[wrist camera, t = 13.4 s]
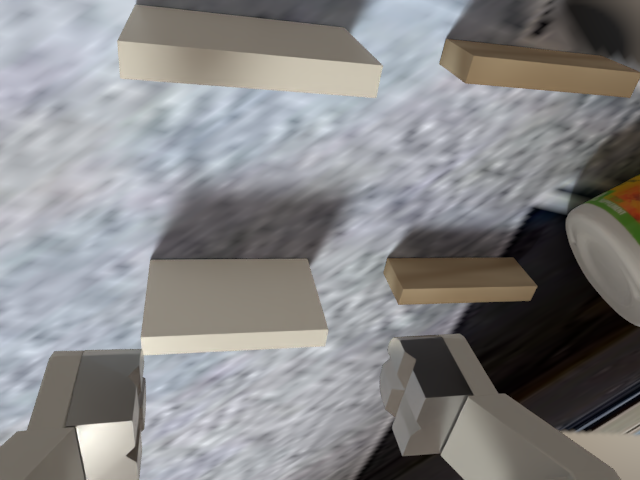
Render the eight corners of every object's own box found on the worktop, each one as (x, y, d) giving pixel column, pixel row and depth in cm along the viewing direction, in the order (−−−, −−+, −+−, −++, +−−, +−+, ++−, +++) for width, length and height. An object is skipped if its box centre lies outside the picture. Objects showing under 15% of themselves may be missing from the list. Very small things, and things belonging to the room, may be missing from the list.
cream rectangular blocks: (135, 4, 14) (117, 40, 11) (343, 27, 15) (382, 65, 12) (150, 276, 19) (142, 355, 16) (304, 274, 21) (324, 346, 17)
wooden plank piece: (446, 38, 16) (473, 55, 15) (601, 55, 18) (642, 73, 16) (383, 273, 21) (398, 304, 20) (506, 271, 23) (530, 300, 21)
